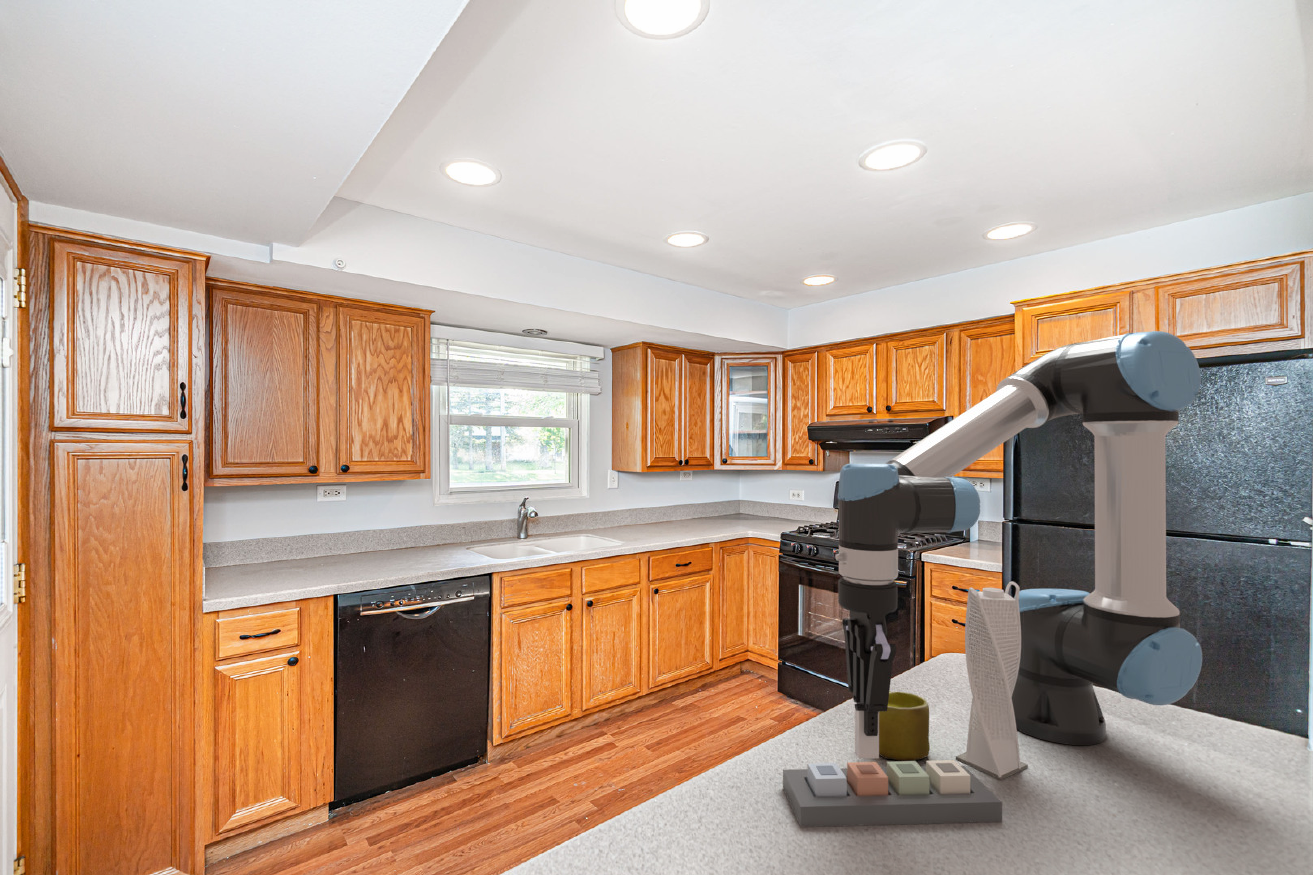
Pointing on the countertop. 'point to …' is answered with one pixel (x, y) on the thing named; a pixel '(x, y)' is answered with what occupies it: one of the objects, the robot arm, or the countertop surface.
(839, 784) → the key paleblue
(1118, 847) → the countertop surface
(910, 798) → the keyguard frame
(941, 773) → the key ivory
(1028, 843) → the countertop surface
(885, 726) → the mug
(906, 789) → the key sage
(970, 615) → the skyscraper
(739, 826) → the countertop surface
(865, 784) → the key terracotta
